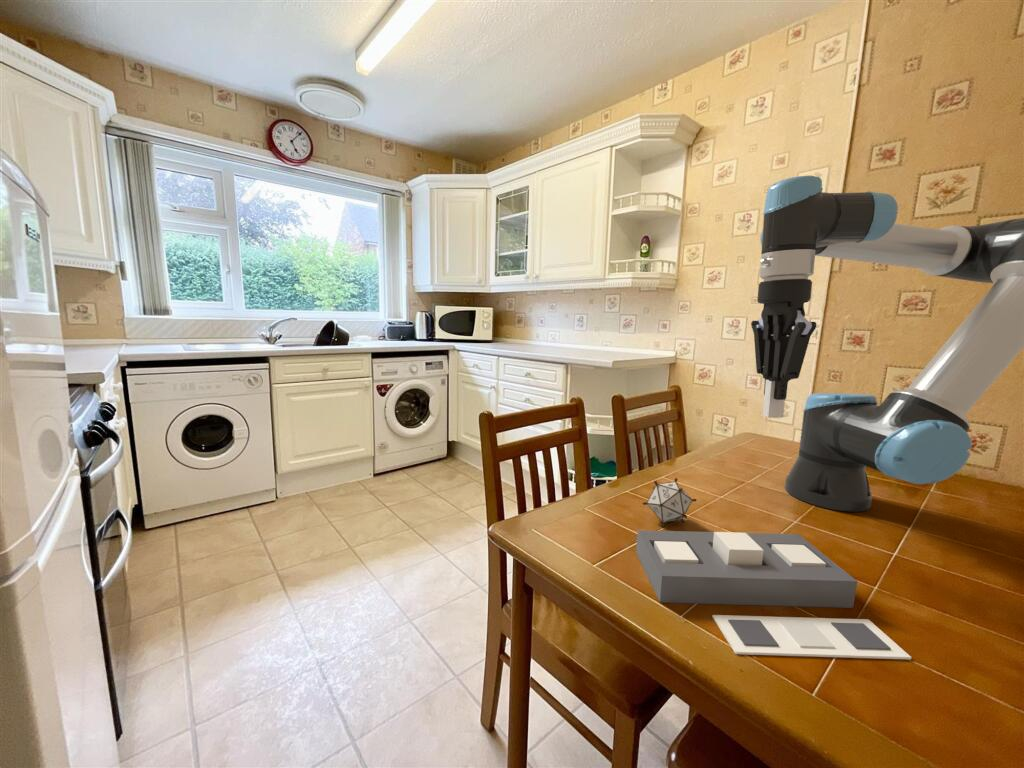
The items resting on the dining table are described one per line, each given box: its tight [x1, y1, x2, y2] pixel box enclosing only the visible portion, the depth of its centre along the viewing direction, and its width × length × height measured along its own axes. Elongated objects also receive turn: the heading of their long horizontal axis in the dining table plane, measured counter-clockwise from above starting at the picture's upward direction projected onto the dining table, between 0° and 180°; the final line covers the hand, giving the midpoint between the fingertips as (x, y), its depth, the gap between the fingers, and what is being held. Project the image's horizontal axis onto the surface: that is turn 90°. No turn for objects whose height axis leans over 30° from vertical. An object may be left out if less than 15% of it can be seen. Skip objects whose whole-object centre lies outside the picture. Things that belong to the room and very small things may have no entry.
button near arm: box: [771, 544, 826, 567], centre depth 62 cm, size 5×5×3 cm
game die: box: [642, 477, 698, 528], centre depth 78 cm, size 9×8×10 cm
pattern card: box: [711, 614, 912, 660], centre depth 51 cm, size 20×6×1 cm, turn 89°
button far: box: [654, 541, 699, 564], centre depth 62 cm, size 5×5×3 cm
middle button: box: [712, 531, 764, 566], centre depth 62 cm, size 5×5×3 cm
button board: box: [635, 529, 858, 609], centre depth 62 cm, size 26×12×4 cm, turn 89°
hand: (772, 416), depth 73 cm, fingers closed
